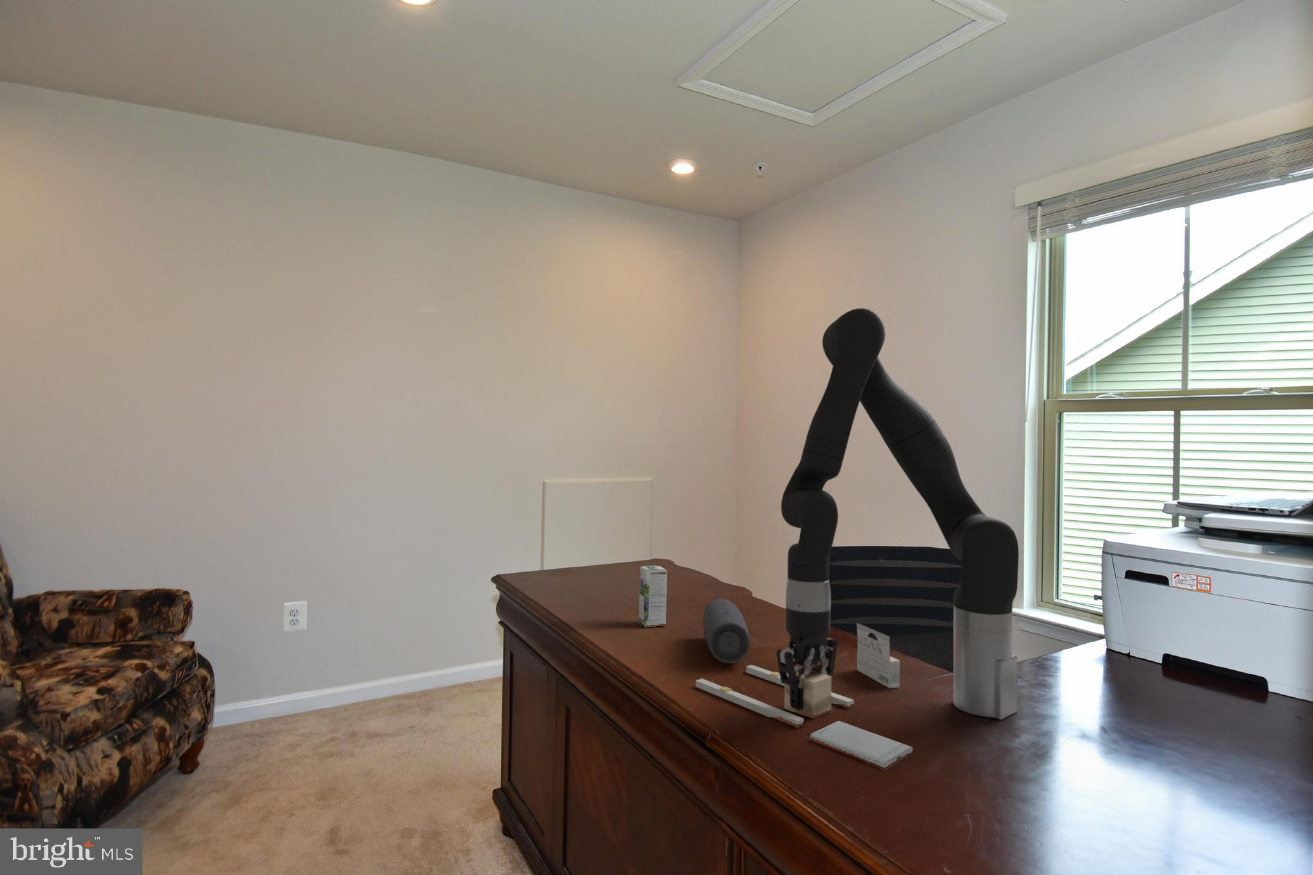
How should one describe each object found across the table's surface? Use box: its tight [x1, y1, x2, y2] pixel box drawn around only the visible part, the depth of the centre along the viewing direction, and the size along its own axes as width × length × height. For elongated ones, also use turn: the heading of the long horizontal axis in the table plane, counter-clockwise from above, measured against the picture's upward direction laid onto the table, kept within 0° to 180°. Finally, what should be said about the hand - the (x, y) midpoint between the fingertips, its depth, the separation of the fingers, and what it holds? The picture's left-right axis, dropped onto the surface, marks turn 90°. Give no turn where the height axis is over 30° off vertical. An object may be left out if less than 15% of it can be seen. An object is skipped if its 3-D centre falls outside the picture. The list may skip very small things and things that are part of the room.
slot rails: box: [695, 664, 855, 725], centre depth 122 cm, size 24×15×1 cm, turn 39°
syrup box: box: [638, 565, 668, 626], centre depth 171 cm, size 6×6×14 cm
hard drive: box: [809, 720, 914, 768], centre depth 102 cm, size 2×8×12 cm
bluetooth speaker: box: [702, 598, 751, 664], centre depth 148 cm, size 23×9×10 cm, turn 179°
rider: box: [784, 669, 832, 715], centre depth 116 cm, size 6×5×6 cm
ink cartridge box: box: [856, 622, 901, 689], centre depth 132 cm, size 2×11×10 cm, turn 16°
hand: (807, 704), depth 116 cm, fingers closed on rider, 5 cm apart
